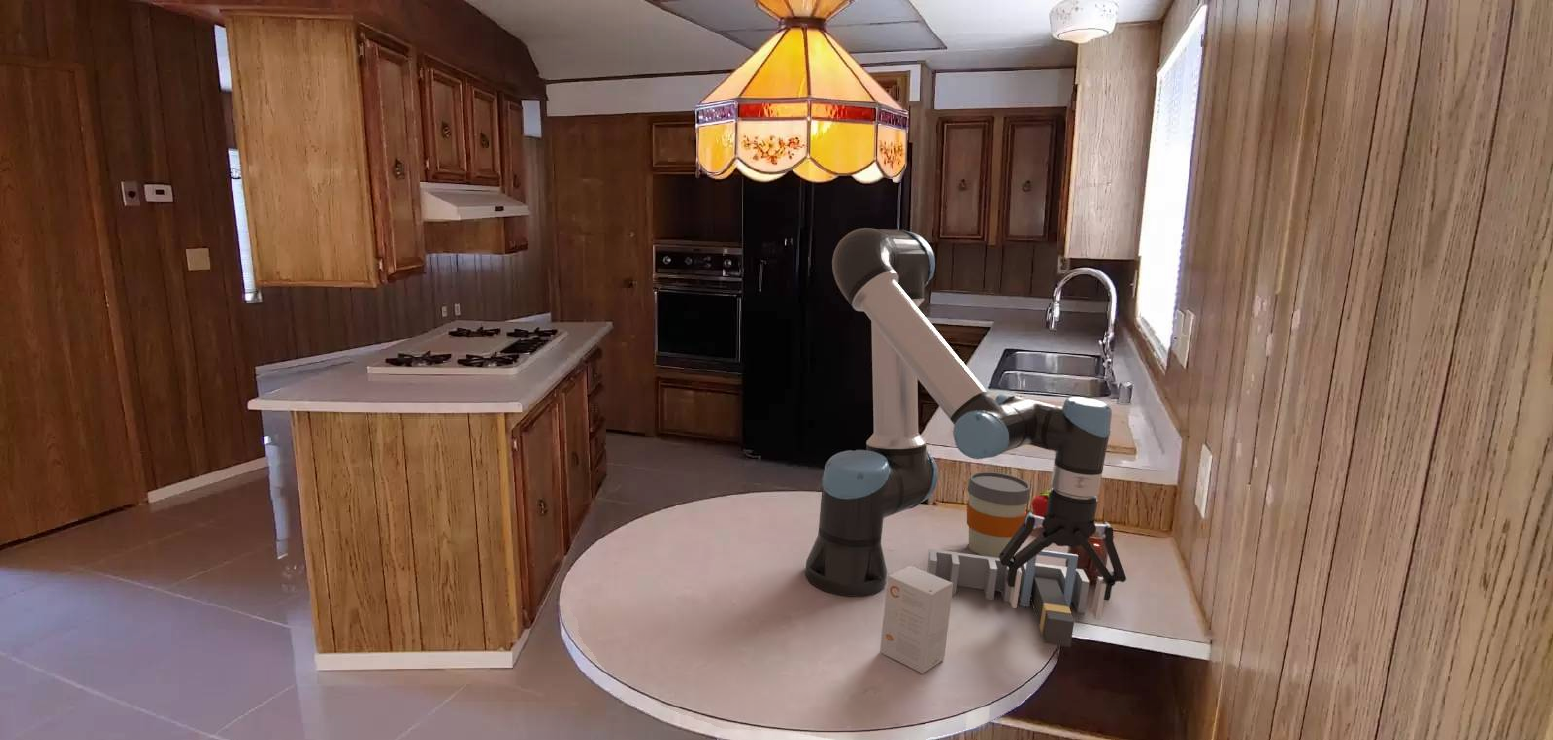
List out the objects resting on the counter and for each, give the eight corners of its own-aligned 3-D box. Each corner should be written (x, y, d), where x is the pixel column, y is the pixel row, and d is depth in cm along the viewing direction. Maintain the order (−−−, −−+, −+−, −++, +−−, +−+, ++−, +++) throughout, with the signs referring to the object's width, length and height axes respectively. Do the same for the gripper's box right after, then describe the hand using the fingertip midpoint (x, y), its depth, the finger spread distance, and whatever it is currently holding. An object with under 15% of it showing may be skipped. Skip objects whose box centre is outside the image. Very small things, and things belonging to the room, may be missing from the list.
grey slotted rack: (926, 590, 146) (930, 560, 145) (925, 578, 152) (929, 548, 150) (1084, 613, 143) (1089, 582, 142) (1078, 599, 148) (1083, 569, 147)
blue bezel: (1020, 605, 144) (1029, 549, 142) (1020, 604, 144) (1028, 548, 142) (1069, 612, 143) (1078, 556, 140) (1068, 610, 143) (1077, 554, 141)
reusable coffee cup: (1025, 566, 161) (1036, 495, 158) (962, 557, 162) (971, 487, 159) (1016, 541, 173) (1026, 475, 170) (958, 533, 175) (966, 468, 172)
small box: (944, 660, 124) (955, 582, 121) (922, 675, 119) (932, 595, 117) (901, 638, 129) (910, 564, 127) (878, 652, 125) (887, 575, 122)
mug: (1057, 565, 162) (1064, 518, 160) (1102, 572, 161) (1110, 524, 159) (1066, 592, 151) (1074, 541, 149) (1114, 599, 149) (1123, 548, 147)
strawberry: (1023, 522, 184) (1029, 481, 182) (1053, 522, 186) (1059, 481, 184) (1035, 532, 179) (1042, 490, 177) (1066, 532, 180) (1073, 490, 178)
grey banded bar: (1044, 643, 131) (1048, 617, 130) (1030, 598, 147) (1033, 575, 146) (1070, 647, 131) (1074, 621, 130) (1053, 601, 146) (1056, 578, 145)
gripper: (999, 489, 129) (981, 609, 134) (1160, 510, 126) (1137, 632, 130) (994, 475, 137) (977, 589, 141) (1146, 494, 133) (1124, 610, 138)
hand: (1054, 610), depth 136 cm, fingers open, 13 cm apart
